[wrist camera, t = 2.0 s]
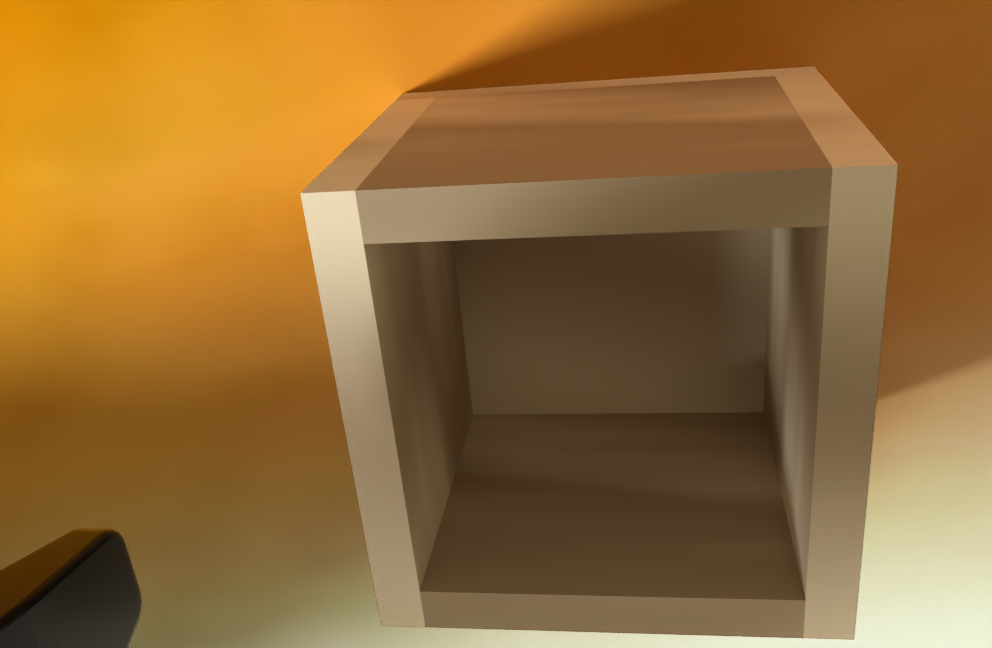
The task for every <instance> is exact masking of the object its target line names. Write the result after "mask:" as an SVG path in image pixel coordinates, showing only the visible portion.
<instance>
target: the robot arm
mask: <svg viewBox="0 0 992 648" xmlns="http://www.w3.org/2000/svg"><path fill="white" fill-rule="evenodd" d="M141 603H142V601H141V593H140V589H139V585H138V582H137V579H136V576H135V573H134V570H133V566H132V563H131V560H130V557H129V554H128V551H127V548H126V544H125V542H124V539H123V537H122V536H121V535H120V534H119V533H118V532H117V531H115V530H113V529H77V530H73V531H71V532H69V533H67V534H65V535H64V536H62V537H60V538H58V539H56V540H55V541H53V542H51V543H49V544H47V545H46V546H44V547H42V548H40V549H38V550H37V551H35V552H33V553H31V554H29V555H27V556H26V557H24V558H22V559H20V560H18V561H17V562H15V563H13V564H11V565H9V566H8V567H6V568H4V569H2V570H0V648H128V646H129V644H130V641H131V639H132V636H133V633H134V631H135V628H136V626H137V623H138V620H139V617H140V612H141Z"/></svg>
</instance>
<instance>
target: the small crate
mask: <svg viewBox="0 0 992 648" xmlns="http://www.w3.org/2000/svg"><path fill="white" fill-rule="evenodd" d="M897 170H898V164H897V163H896V161H895V160H894V159H893V158H892V157H891V156H890V154H889V153H888V152H887V151H886V150H885V149H884V147H883V146H882V145H881V144H880V143H879V142H878V140H877V139H876V138H875V137H874V136H873V135H872V133H871V132H870V131H869V130H868V129H867V128H866V126H865V125H864V124H863V123H862V122H861V121H860V119H859V118H858V117H857V116H856V115H855V114H854V112H853V111H852V110H851V109H850V108H849V107H848V105H847V104H846V103H845V102H844V101H843V100H842V98H841V97H840V96H839V95H838V94H837V93H836V91H835V90H834V89H833V88H832V87H831V86H830V84H829V83H828V82H827V81H826V80H825V79H824V77H823V76H822V75H821V74H820V73H819V72H818V70H817V69H816V68H815V67H814V66H811V67H795V68H780V69H765V70H750V71H734V72H719V73H704V74H688V75H673V76H658V77H642V78H627V79H612V80H596V81H581V82H566V83H551V84H535V85H520V86H505V87H489V88H474V89H459V90H443V91H428V92H413V93H403V94H402V95H401V96H400V97H399V98H398V99H397V100H396V101H395V102H394V103H393V104H391V105H390V106H389V107H388V108H387V109H386V110H385V111H384V112H383V113H382V114H381V115H380V116H379V117H378V118H377V119H376V120H375V121H374V122H373V123H372V124H371V125H370V126H369V127H368V128H367V129H366V130H365V131H364V132H363V133H362V134H361V135H360V136H359V137H358V138H357V139H356V140H355V141H354V142H352V143H351V144H350V145H349V146H348V147H347V148H346V149H345V150H344V151H343V152H342V153H341V154H340V155H339V156H338V157H337V158H336V159H335V160H334V161H333V162H332V163H331V164H330V165H329V166H328V167H327V168H326V169H325V170H324V171H323V172H322V173H321V174H320V175H319V176H318V177H317V178H316V179H315V180H313V181H312V182H311V183H310V184H309V185H308V186H307V187H306V188H305V189H304V190H303V191H302V192H301V193H300V194H301V199H302V205H303V210H304V215H305V221H306V226H307V231H308V237H309V242H310V247H311V253H312V258H313V263H314V269H315V274H316V279H317V285H318V290H319V295H320V301H321V306H322V311H323V317H324V322H325V327H326V333H327V338H328V343H329V349H330V354H331V359H332V365H333V370H334V375H335V381H336V386H337V391H338V397H339V402H340V407H341V413H342V418H343V423H344V429H345V434H346V440H347V445H348V450H349V456H350V461H351V466H352V472H353V477H354V482H355V488H356V493H357V498H358V504H359V509H360V514H361V520H362V525H363V530H364V536H365V541H366V546H367V552H368V557H369V562H370V568H371V573H372V578H373V584H374V589H375V594H376V600H377V605H378V610H379V616H380V621H381V626H402V627H437V628H471V629H506V630H540V631H575V632H609V633H644V634H678V635H713V636H747V637H782V638H816V639H850V640H854V635H855V624H856V613H857V602H858V592H859V581H860V570H861V559H862V548H863V538H864V527H865V516H866V505H867V494H868V484H869V473H870V462H871V451H872V440H873V430H874V419H875V408H876V397H877V386H878V376H879V365H880V354H881V343H882V332H883V322H884V311H885V300H886V289H887V278H888V268H889V257H890V246H891V235H892V224H893V214H894V203H895V192H896V181H897Z"/></svg>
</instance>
